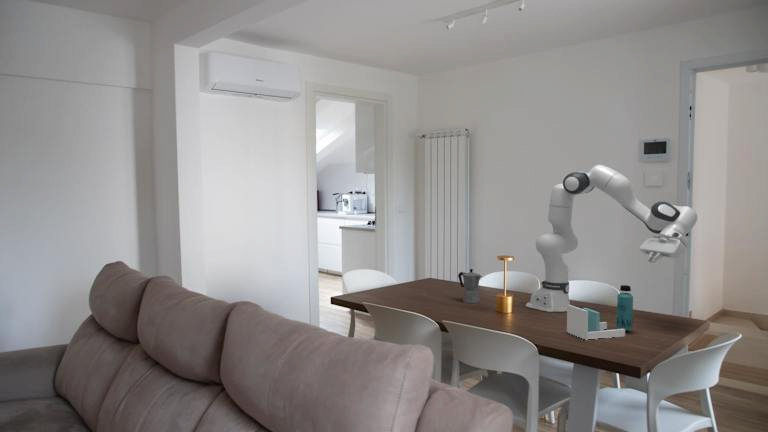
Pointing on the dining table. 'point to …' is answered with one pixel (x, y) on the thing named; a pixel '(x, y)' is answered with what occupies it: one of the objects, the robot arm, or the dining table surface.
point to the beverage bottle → (624, 309)
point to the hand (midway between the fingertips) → (650, 261)
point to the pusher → (593, 320)
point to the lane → (579, 325)
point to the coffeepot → (470, 286)
